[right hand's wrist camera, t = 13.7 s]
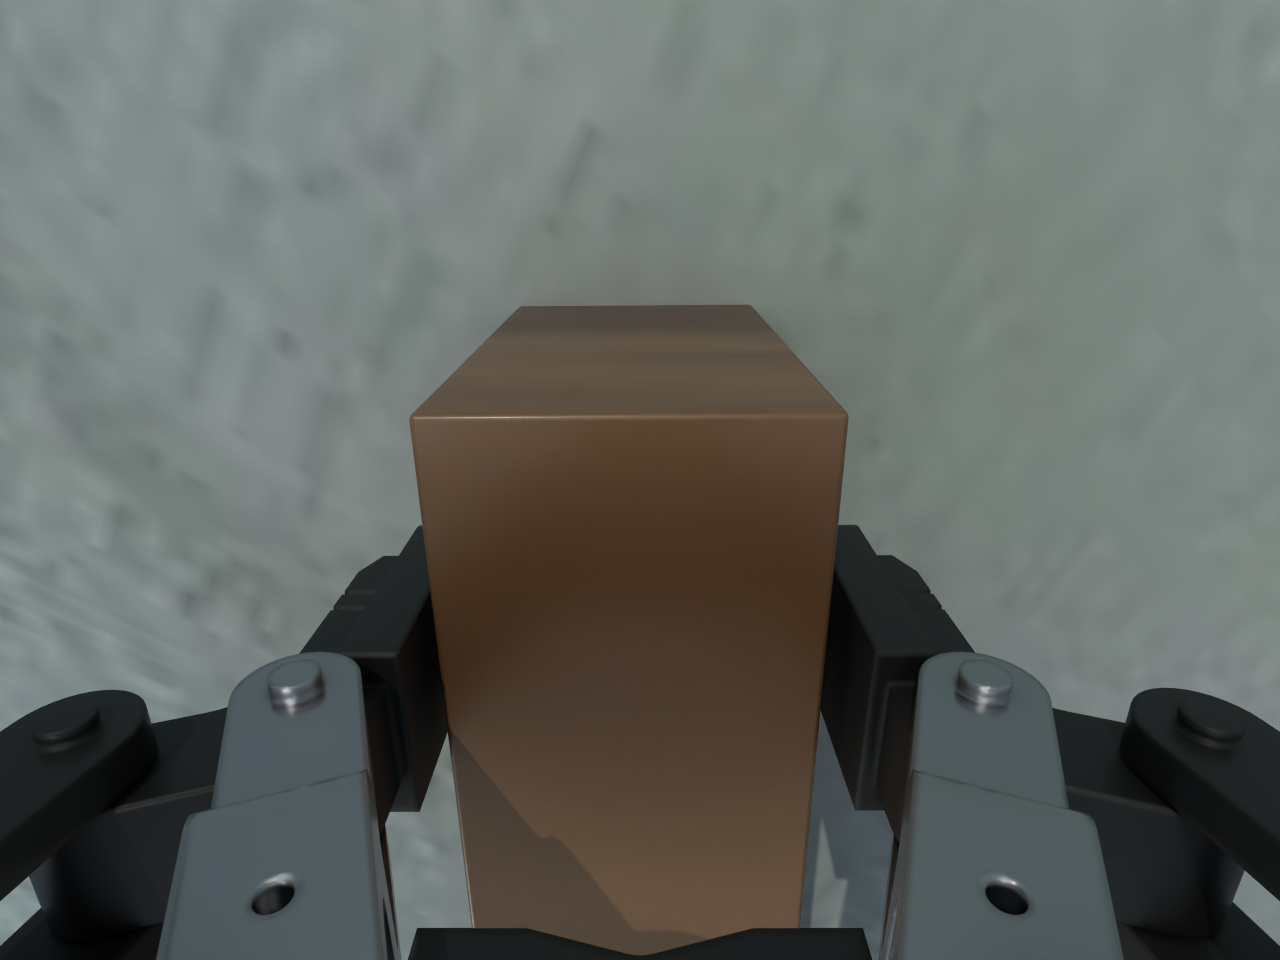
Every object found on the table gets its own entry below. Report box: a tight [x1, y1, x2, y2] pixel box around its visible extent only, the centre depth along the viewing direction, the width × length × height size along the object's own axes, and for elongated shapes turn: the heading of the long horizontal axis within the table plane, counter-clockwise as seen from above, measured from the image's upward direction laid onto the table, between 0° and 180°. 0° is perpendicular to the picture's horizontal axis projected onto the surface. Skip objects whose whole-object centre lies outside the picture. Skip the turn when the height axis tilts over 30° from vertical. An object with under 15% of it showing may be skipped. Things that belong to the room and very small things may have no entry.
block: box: [410, 305, 848, 955], centre depth 16 cm, size 22×5×8 cm, turn 0°
